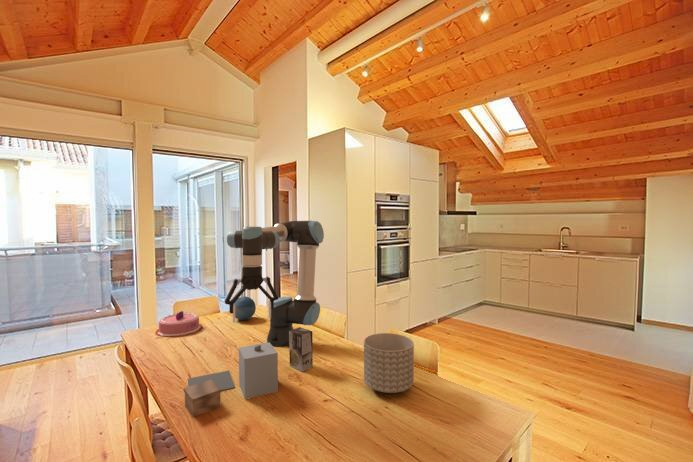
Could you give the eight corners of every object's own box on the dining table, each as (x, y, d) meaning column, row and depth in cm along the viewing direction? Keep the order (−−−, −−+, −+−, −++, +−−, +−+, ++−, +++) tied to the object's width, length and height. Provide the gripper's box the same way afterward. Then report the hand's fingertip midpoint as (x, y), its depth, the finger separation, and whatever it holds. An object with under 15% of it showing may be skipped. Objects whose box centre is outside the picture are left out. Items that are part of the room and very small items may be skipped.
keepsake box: (211, 395, 123) (211, 379, 123) (221, 406, 116) (221, 389, 115) (183, 405, 116) (183, 388, 116) (192, 417, 109) (192, 399, 109)
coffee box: (313, 367, 146) (313, 331, 146) (301, 372, 142) (301, 334, 141) (300, 361, 153) (299, 326, 152) (288, 365, 148) (288, 330, 147)
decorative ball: (227, 322, 209) (226, 299, 209) (238, 315, 224) (238, 293, 224) (249, 323, 207) (249, 300, 206) (259, 316, 222) (259, 294, 221)
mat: (229, 371, 143) (229, 370, 143) (234, 387, 129) (234, 387, 129) (187, 379, 136) (187, 378, 136) (189, 398, 121) (189, 397, 121)
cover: (269, 377, 137) (269, 338, 136) (277, 391, 126) (277, 348, 125) (239, 384, 131) (238, 343, 131) (244, 399, 121) (244, 354, 120)
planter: (381, 406, 116) (381, 355, 115) (355, 382, 133) (355, 337, 132) (423, 393, 125) (424, 345, 124) (394, 372, 142) (394, 330, 141)
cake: (189, 337, 184) (189, 318, 183) (145, 337, 184) (145, 318, 184) (209, 323, 209) (209, 306, 208) (170, 323, 209) (170, 306, 209)
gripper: (281, 263, 139) (280, 313, 139) (217, 266, 128) (217, 320, 129) (285, 265, 132) (285, 318, 133) (219, 268, 122) (218, 326, 122)
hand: (251, 319), depth 131 cm, fingers open, 13 cm apart
